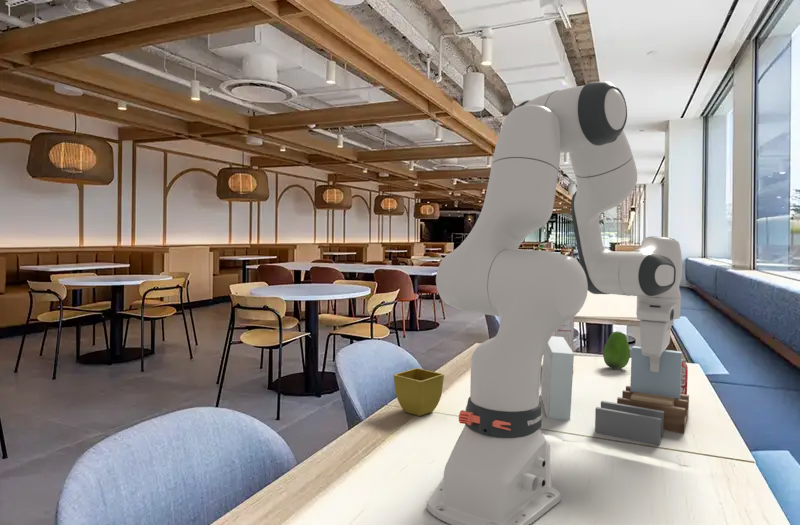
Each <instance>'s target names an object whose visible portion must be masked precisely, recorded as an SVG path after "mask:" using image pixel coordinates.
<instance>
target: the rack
mask: <svg viewBox="0 0 800 525" xmlns="http://www.w3.org/2000/svg"><path fill="white" fill-rule="evenodd" d="M632 394H633V392H631V391H630V385H626V386H625V390H622V394H621V395H622V397H620V396H618V397H617V398H616V403H618V404H624V405H630V406H636V407H642V408H648V409H653V410H659V411H664V424H663V431H667V432H672V433H675V434H676V433H677V434H682V435H684V434H685V432H686V427H687V424H688V419H689V408H690V407H689V406H690V404H689V403H690V394H687V395H686V394H680V399H676V398H674V406H669V405H663V404H657V403H651V402H645V401H639V400H633V399H631V395H632Z"/></svg>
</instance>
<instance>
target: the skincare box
mask: <svg viewBox="0 0 800 525" xmlns="http://www.w3.org/2000/svg"><path fill="white" fill-rule="evenodd" d="M574 358H575V354H574V351H573V352H572V350H571V348H570V347H569V345H568V344H567V342H566V341H565V339H564V337H555V336H551V338H550V340H549V341H548V343H547V346H546V348H545V350H544V354H543V357H542V367H541V369H542V370H541V371H542V373H541V374H542V375H541V385H540V386H541V388H540V397H541V401H542V403H543V404H542V405H543V409H544V412H545V418H547V419H553V420H554V419H555V420H568V421H570V420H571V410H572V396H573V395H572V392H573V390H572V389H573V376H574Z"/></svg>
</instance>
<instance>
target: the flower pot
mask: <svg viewBox="0 0 800 525" xmlns="http://www.w3.org/2000/svg"><path fill="white" fill-rule="evenodd" d="M444 380H445V373H441V372H436V371H430V370H427V369H424V368H418V367H417V368H415V367H414V368H412V369H408V370H405V371H402V372H398V373H394V374H393V382H394V388H395V395H396V399H397V402H398V403H399V405H400V407H401V408H402V410H403V411H404V412H405V413H408V414H412V415H415V416H419V417H422V416H424V415H426V414H429V413H431V412H434V411H435V409H436V408H437V407H438V406H439V403H440V400H441V398H442V395H443V394H442V393H443V386H444Z"/></svg>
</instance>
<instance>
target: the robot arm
mask: <svg viewBox="0 0 800 525" xmlns="http://www.w3.org/2000/svg"><path fill="white" fill-rule="evenodd" d="M504 118H505V119H504V121H503V124H502V127H501V128H500V131H499V135H498V137H497V141H496V144H495V148H494V151H493V155H492V162H491V167H490V173H489V178H488V183H487V187H486V192H485V197H484V201H483V206H482V208H481V211H480V214H479V216H478V218H477V220H476V221H475V223H474V226H473V227H472V228H471V231H470V232H469V234H468V235H467V236H466V237H465V239H464V240H463V241H462V242H461V243H460V245H458V246H457V247H456V248H455V249H454V250H453V251H451V252H449V253H448V254H447V255H445V257H443V258H442V260H441V261H440V264H439V265H438V267H437V271H436V276H435V284H436V290H437V293H438V295H439V297H440V299H441V300H442V302H444V303H445V304H446V305H448V306H451V307H453V308H455V309H458V310H460V311H464V312H467V313H471V314H479V315H487V316H488V315H489V316H494V317H499V319H500V323H499V328H498V331H497V333H496V335H495V336H493V337H491V338H489V339H486V340H484V341H483V342H481V343H480V344H478V346H477V347H476V348H475V350H474V351H473V352H472V354H471V357H470V395H469V397H468V399H467V402H466V403H467V404H466V405H465V406H466V407H465V410H463V409H462V410H460V412H459V414H458V417H457V418H458V423H459V424H461V425H464V426H463V429H462V431H461V432H460V435H459V436H458V439H457V440H456V442H455V444H454V447H453V449H452V451H451V452H450V455H449V457H448V460H447V462H446V464H445V466H444V470H443V477H442V479H441V481H440V482H439V483H438V485H437V487H436V488H435V490H434V491H433V492H432V494H431V496H430V497H429V498H428V500H427V502H426V510H427V511H428V512H429V513H430V514H431V515H432V516H434V517H436V519H439V520H440V521H443V522H445V523H446V524H449V525H529V524H530V525H532V523H534V522H535V521H537V519H539V518H540V517H542V516H543V515H544V514H546V513H547V512H548V511H549V510H551V509H552V508H553V507H555V506H556V505H557V504H558V503H560V502H561V500H562V498H561V493H560V491H559V490H557V489H556V488H555V487H554V486H552V465H551V462H552V461H551V445H550V443H549V442H548V441H547V440H546V438H545V437H544V435H543V433H542V431H541V427H542V425H543V424H542V422H543V421H542V419H543V410H542V408H543V407H542V403H541V402H540V386H541V385H540V382H541V371H542V370H541V369H542V364H543V356H544V350H545V348H546V346H547V343H548V341H549V340H550V338H551V336H552V335H553V334H554V332H555V331H556V330H557V329H558V328H559V327H560V326H561V325H562V324H564V323H565V322H566V321H568V320H570V319H571V318H573V317H574V318H575V316H576V315H577V314H578V313H579V312H580V311H581V310H582V308H583V307H584V304H585V302H586V301H587V296H588V292H589V293H591V294H593V295H619V296H626V297H630V296H631V297H636V313H635V314H636V319H637V320H639V338H640V347H641V351H642V355H643V356H649V359H650V371H651V372H659V370H660V356H661V355H662V353H663V352H664V350H667V349H666V348H667V347H668V346H669V345H670V342H671V327H672V326H674V320H678V319H680V318H681V308H682V306H681V305H682V304H681V303H682V302H681V301H682V295H681V289H680V284H681V281H682V278H683V276H682V275H683V260H682V259H683V258H682V250H681V244H680V242H679V241H677V240H676V239H675V238H671V237H666V236H665V237H664V236H647V237H644V238H643V239H642V241H641V245H640V247H639V248H638V249H635V250H633V251H613V250H610V249H608V248H606V247H605V245H604V244H603V237H602V231H601V224H600V215H601V214H603V213H605V212H607V211H609V210H611V209H614V208H615V207H617V206H619V205H620V204H621V203H623V202H624V201H625V200H627V198H629V196H631V194H632V193H633V191H634V189H635V188H636V185H637V181H638V172H637V170H638V169H637V165H636V162H635V159H634V155H633V152H632V149H631V146H630V143H629V141H628V138H627V136H626V133H625V131H624V129H625V127H626V124H627V119H628V107H627V101H626V98H625V96H624V94H623V92H622V91H621V89H620V88H619V87H618V86H616V85H614V83H612V82H611V81H604V80H603V81H601V80H600V81H591V82H588V83H586V84H584V85H578V86H574V87H573V86H572V87H568V88H563V89H560V90H559V89H556V90H554V91H551V92H548V93H545V94H542V95H540V96H537V97H535V98H532V99H528V100H524V101H523V102H521V103H519V104H518V105H516V106H514V108H512V110H510V112H508V114H507V115H506V117H504ZM561 153H563V154H567V153H568V154H569V159H570V162H571V165H572V169H573V173H574V175H575V179H576V191H575V192H574V193H573V194H572V197H571V199H570V200H571V201H570V210H571V220H572V225H573V232H574V236H575V242H576V248H577V252H578V253H577V255H578V259H579V260H577V259H576V258H575V257H574V256H573V257H572V256H568V255H566V254H562V253H558V252H553V251H549V250H542V249H541V250H539V249H538V250H537V249H534V250H533V249H519V248H520V247H521V245H522V242H524V241H525V240H526V238H528V236H529V235H531V234H532V233H534V232H536V231H538V230H539V229H542V228H543V227H544V226H545V225H546V224H547V223H548V222H549V220H550V219H551V216H552V214H553V210H554V206H555V205H554V203H555V198H556V191H557V184H558V179H559V178H558V177H559V171H560V163H561V161H560V159H561Z"/></svg>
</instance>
